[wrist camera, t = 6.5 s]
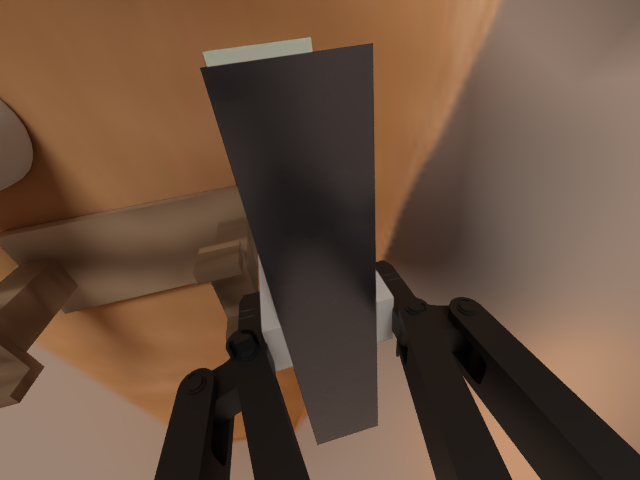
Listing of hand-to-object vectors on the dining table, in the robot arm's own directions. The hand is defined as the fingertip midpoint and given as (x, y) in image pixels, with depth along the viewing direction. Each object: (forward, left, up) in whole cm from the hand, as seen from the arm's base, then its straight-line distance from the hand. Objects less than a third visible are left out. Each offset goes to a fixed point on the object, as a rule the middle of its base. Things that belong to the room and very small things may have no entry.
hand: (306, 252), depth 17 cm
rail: (0, 0, 0) cm, 0 cm away
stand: (+2, -13, -8) cm, 15 cm away
